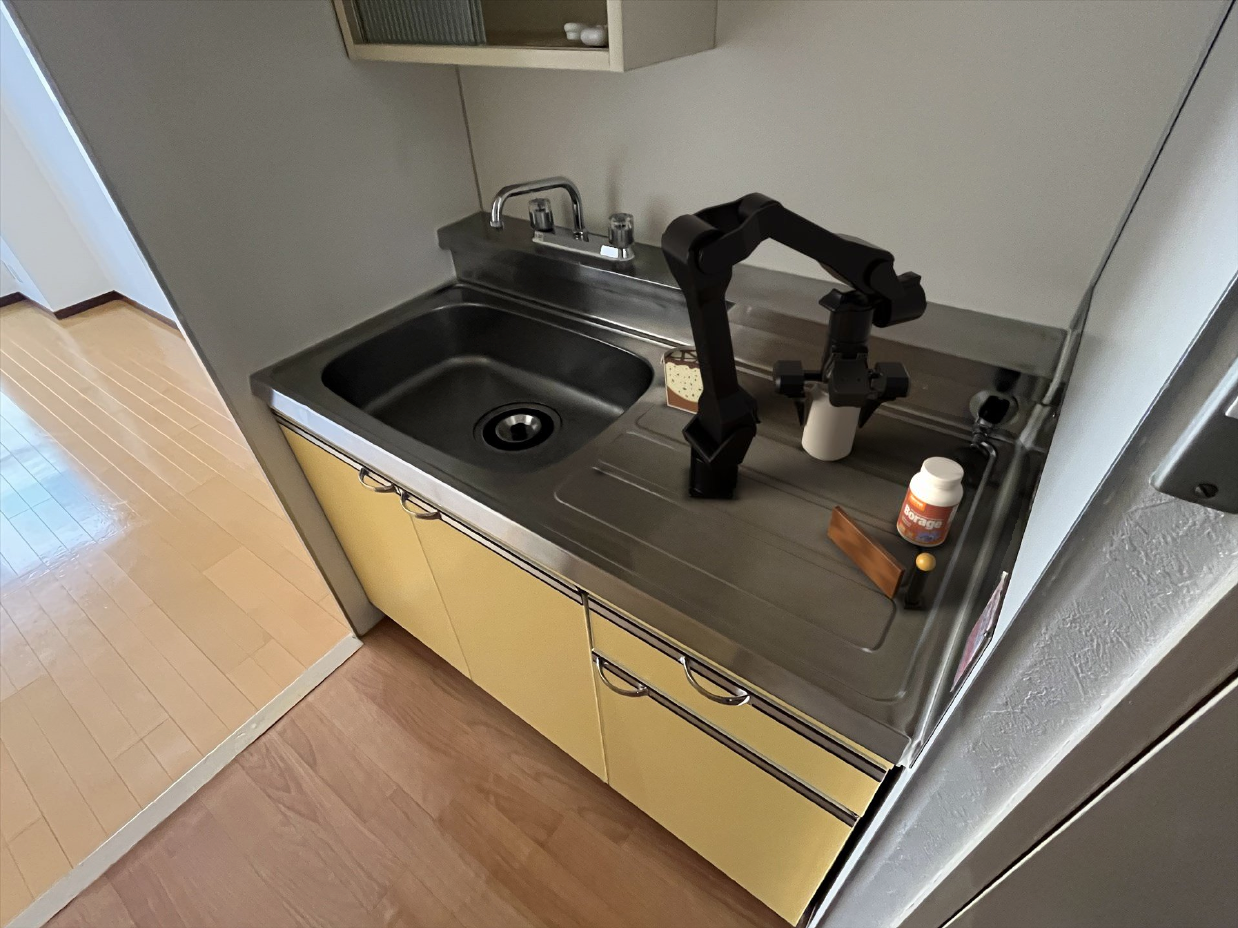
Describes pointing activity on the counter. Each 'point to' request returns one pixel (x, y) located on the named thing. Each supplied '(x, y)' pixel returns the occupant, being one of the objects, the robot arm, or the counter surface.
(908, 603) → the yellow topped black post
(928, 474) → the pill bottle
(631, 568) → the counter surface
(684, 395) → the food container
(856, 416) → the can
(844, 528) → the door
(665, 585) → the counter surface
